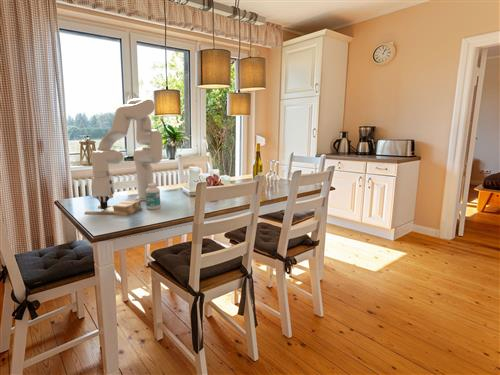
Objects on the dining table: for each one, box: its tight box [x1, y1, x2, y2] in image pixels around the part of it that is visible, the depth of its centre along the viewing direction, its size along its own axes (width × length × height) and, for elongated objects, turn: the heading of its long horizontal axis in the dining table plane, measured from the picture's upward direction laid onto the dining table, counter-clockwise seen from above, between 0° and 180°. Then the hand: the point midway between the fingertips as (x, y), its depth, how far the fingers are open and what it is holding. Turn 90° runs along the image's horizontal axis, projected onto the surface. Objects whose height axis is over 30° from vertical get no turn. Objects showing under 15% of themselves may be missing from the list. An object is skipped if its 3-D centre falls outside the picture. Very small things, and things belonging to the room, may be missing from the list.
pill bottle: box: [145, 182, 161, 210], centre depth 168 cm, size 8×7×14 cm
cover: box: [100, 207, 114, 212], centre depth 163 cm, size 9×15×2 cm, turn 84°
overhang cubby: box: [84, 199, 142, 216], centre depth 163 cm, size 14×24×4 cm, turn 84°
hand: (104, 208), depth 164 cm, fingers closed
